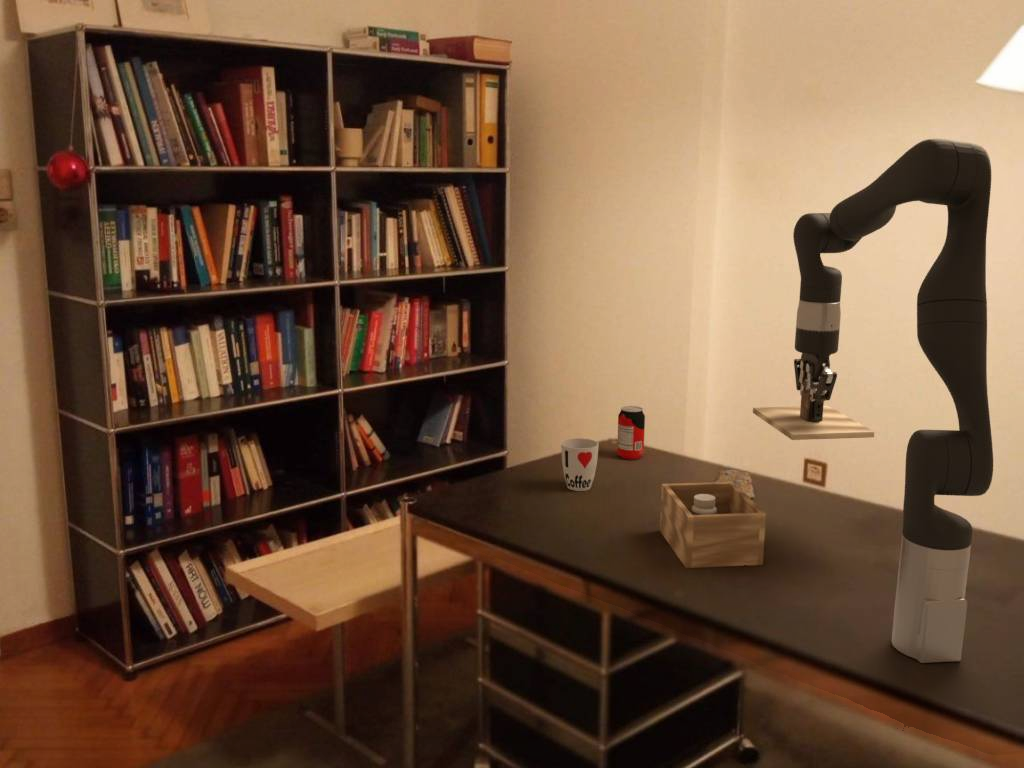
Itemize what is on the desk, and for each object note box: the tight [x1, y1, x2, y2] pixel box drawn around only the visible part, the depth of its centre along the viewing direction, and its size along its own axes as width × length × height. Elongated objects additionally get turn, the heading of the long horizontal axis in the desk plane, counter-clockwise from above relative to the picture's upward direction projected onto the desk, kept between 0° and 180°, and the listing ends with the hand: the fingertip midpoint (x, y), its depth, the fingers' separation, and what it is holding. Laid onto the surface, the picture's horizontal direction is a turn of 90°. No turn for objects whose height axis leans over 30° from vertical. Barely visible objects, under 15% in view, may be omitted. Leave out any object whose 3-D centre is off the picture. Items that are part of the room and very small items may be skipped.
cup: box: [560, 437, 600, 492], centre depth 217 cm, size 8×8×10 cm
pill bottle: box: [691, 494, 717, 515], centre depth 188 cm, size 5×5×8 cm
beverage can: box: [616, 405, 646, 461], centre depth 238 cm, size 6×6×12 cm
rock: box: [712, 469, 756, 499], centre depth 214 cm, size 9×6×10 cm
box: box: [659, 481, 767, 569], centre depth 184 cm, size 18×14×10 cm
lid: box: [752, 391, 875, 441], centre depth 182 cm, size 19×15×6 cm
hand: (811, 418), depth 182 cm, fingers closed on lid, 3 cm apart
